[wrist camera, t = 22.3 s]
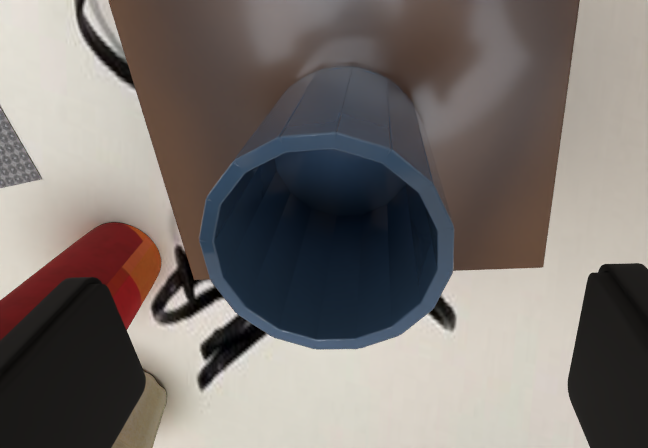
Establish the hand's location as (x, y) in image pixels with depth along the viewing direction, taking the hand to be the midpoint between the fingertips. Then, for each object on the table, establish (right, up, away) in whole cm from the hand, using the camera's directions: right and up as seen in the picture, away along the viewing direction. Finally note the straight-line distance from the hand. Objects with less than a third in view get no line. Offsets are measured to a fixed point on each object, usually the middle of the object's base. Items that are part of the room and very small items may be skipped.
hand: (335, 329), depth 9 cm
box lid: (+1, +6, +10) cm, 12 cm away
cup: (+1, +5, +9) cm, 11 cm away
